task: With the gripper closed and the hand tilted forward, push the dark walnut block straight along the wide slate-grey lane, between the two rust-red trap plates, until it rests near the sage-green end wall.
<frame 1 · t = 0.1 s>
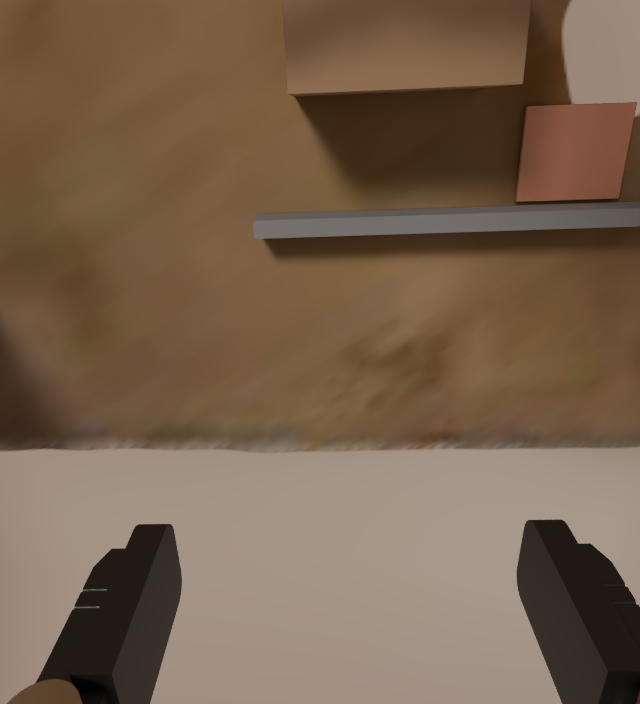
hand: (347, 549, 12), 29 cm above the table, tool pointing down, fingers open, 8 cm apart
walnut block: (388, 20, 33), on the table
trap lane: (511, 15, 33), on the table
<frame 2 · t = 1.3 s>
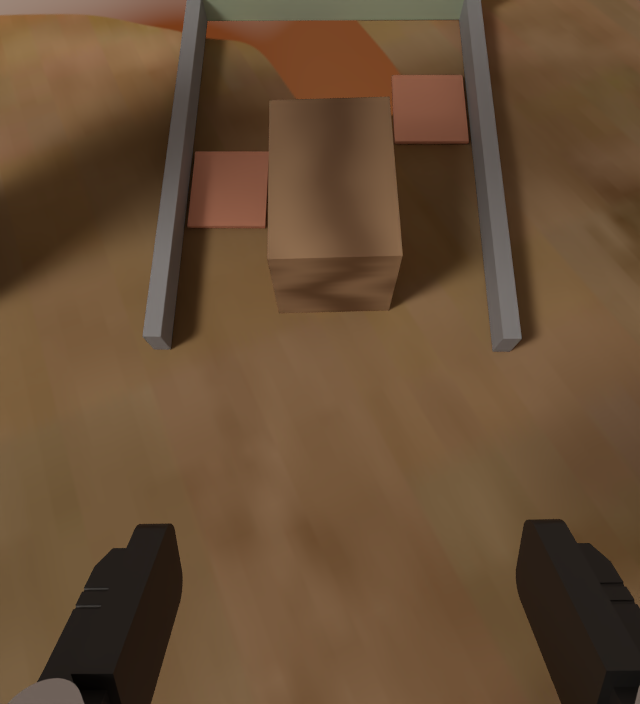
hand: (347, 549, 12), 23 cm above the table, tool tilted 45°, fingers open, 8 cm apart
walnut block: (331, 240, 42), on the table
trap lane: (331, 158, 44), on the table
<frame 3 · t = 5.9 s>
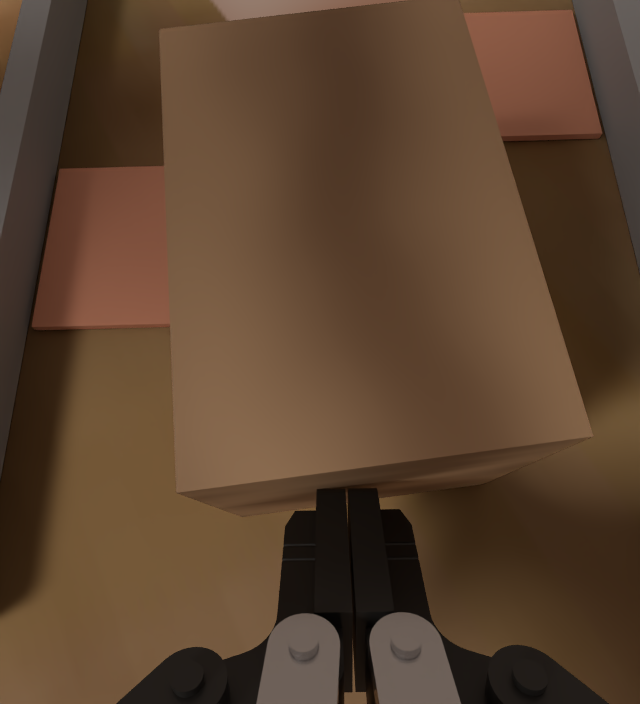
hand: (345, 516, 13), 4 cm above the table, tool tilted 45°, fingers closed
walnut block: (338, 332, 20), on the table, touching gripper
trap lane: (331, 176, 22), on the table
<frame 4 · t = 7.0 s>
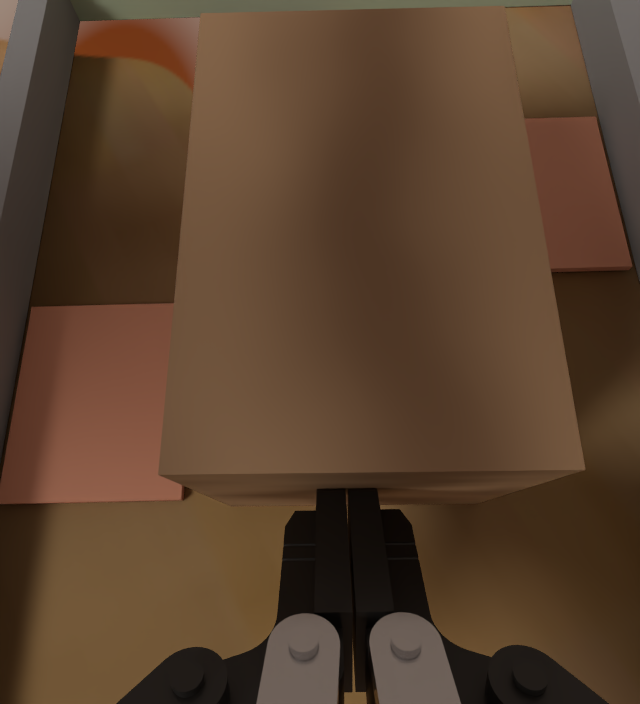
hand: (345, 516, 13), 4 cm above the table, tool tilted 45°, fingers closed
walnut block: (348, 334, 20), on the table
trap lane: (333, 314, 20), on the table
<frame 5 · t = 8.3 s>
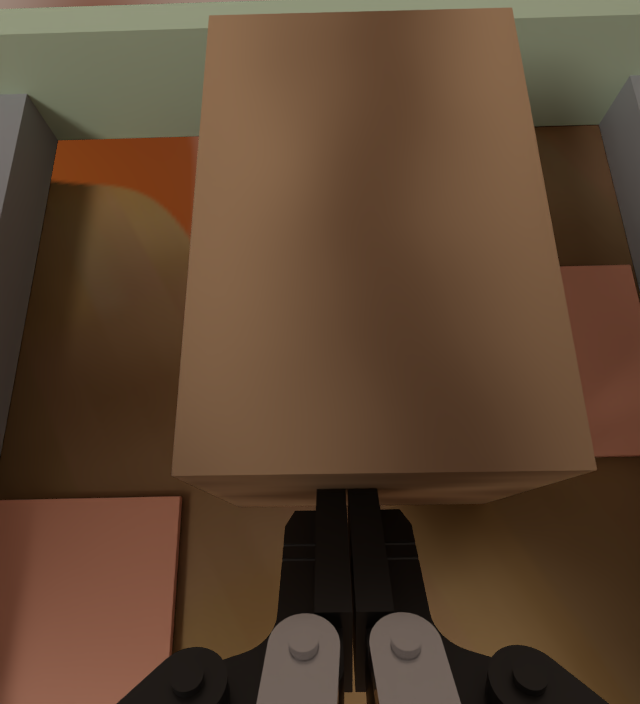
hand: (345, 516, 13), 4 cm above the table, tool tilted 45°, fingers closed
walnut block: (354, 335, 20), on the table, touching gripper
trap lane: (337, 509, 18), on the table
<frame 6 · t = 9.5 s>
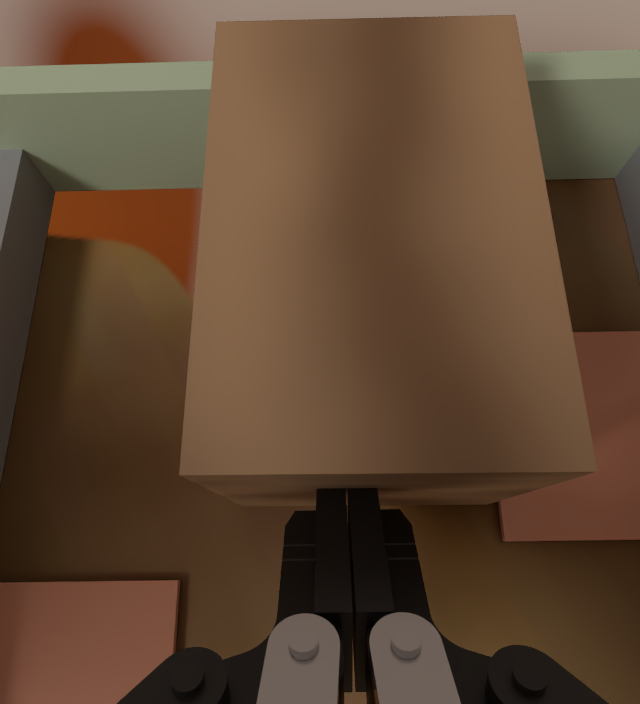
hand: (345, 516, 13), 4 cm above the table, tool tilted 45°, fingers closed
walnut block: (358, 337, 20), on the table, touching gripper
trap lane: (343, 595, 17), on the table
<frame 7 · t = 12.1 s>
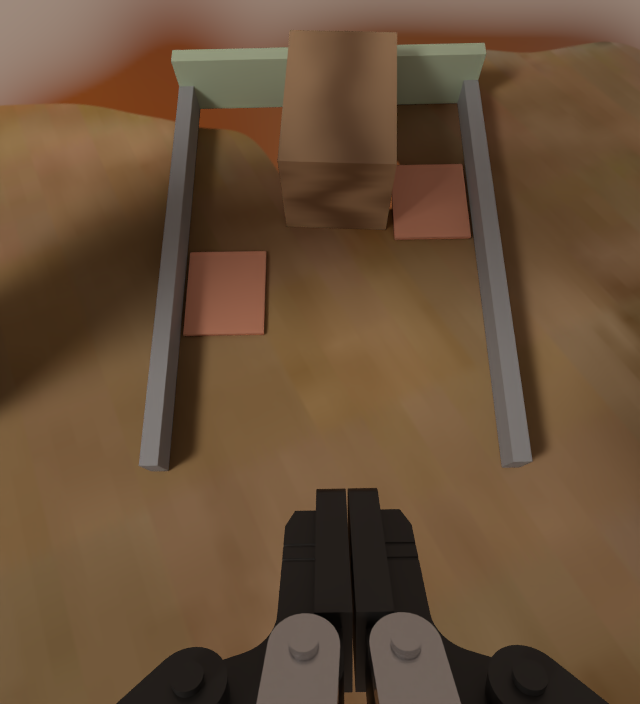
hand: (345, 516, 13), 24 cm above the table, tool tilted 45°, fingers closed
walnut block: (338, 168, 46), on the table
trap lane: (330, 257, 43), on the table
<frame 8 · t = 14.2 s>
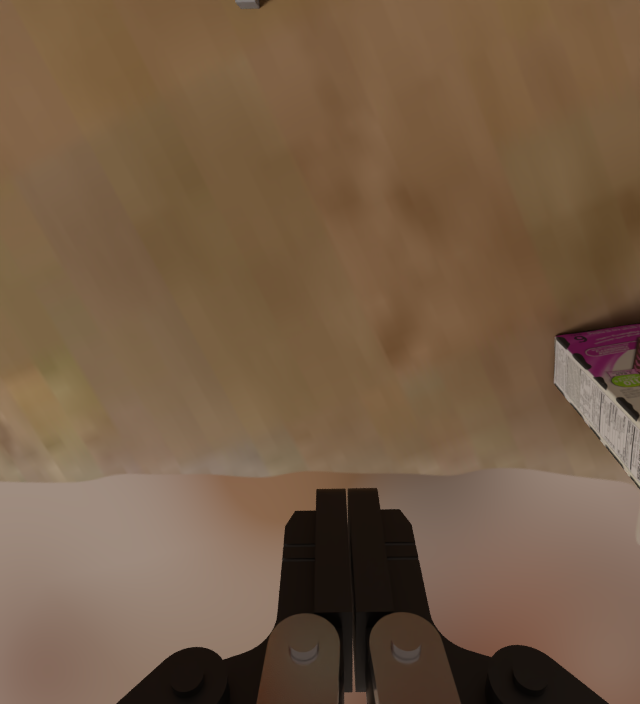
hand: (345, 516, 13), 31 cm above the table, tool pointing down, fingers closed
candy bar box: (617, 347, 46), on the table
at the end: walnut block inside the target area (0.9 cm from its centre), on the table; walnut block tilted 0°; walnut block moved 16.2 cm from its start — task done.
